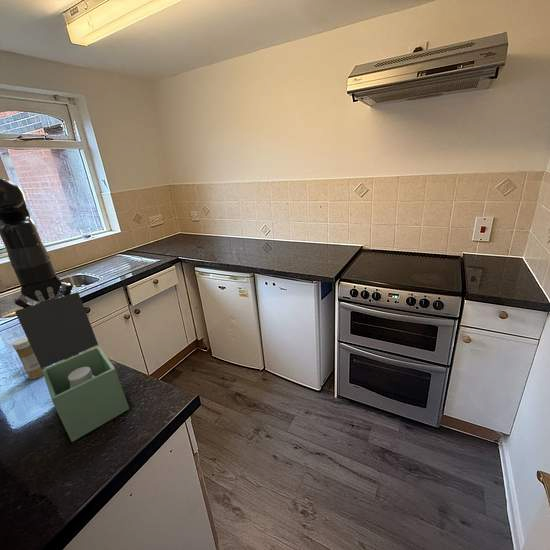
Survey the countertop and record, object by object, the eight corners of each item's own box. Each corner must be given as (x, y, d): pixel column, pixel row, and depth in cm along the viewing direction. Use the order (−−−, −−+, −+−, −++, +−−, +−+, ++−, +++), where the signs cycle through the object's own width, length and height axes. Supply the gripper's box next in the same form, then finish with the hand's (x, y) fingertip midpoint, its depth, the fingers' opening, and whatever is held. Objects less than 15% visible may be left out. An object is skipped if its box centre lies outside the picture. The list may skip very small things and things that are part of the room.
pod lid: (78, 291, 81) (77, 291, 81) (14, 311, 72) (14, 310, 73) (98, 344, 86) (97, 344, 86) (41, 368, 77) (41, 367, 78)
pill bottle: (86, 419, 77) (71, 384, 73) (75, 410, 80) (60, 376, 76) (109, 402, 82) (97, 369, 78) (98, 395, 85) (85, 362, 81)
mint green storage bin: (129, 408, 80) (115, 368, 75) (71, 442, 72) (51, 399, 67) (111, 382, 91) (98, 345, 86) (60, 408, 83) (41, 369, 78)
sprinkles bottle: (46, 368, 101) (31, 334, 96) (45, 376, 97) (29, 341, 92) (29, 374, 99) (13, 340, 94) (28, 382, 95) (10, 346, 90)
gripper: (59, 253, 81) (80, 309, 87) (-4, 267, 73) (25, 328, 79) (65, 257, 76) (87, 317, 82) (-2, 273, 68) (28, 338, 74)
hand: (56, 322), depth 81 cm, fingers closed
